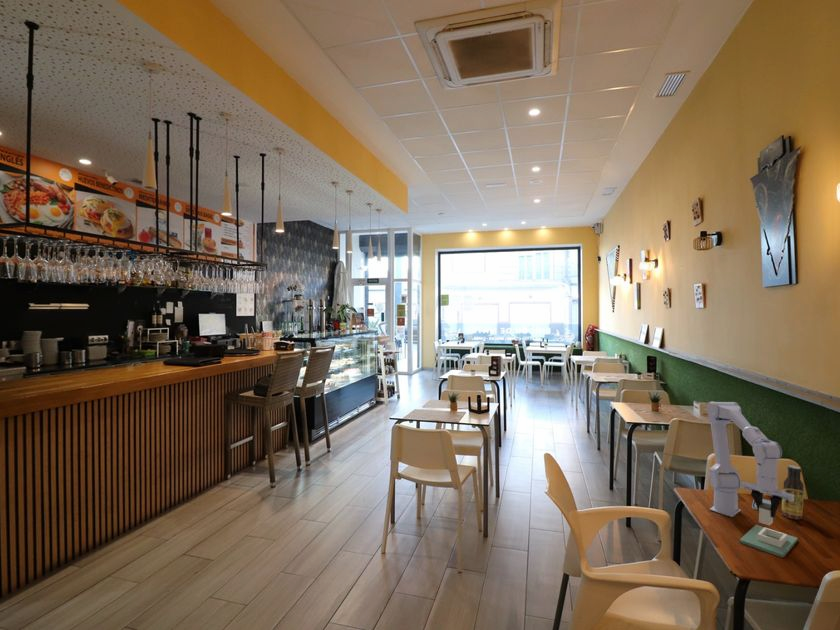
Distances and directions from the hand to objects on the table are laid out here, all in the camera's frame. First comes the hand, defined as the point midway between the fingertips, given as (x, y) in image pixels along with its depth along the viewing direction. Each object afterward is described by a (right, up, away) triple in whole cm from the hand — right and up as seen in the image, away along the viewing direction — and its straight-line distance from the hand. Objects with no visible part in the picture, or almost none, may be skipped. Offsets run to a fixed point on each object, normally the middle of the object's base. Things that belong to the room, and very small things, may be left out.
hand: (766, 514), depth 154 cm
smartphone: (+22, -10, +28) cm, 37 cm away
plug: (-1, -3, 0) cm, 3 cm away
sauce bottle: (+24, -9, +18) cm, 32 cm away
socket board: (0, -9, -1) cm, 9 cm away
